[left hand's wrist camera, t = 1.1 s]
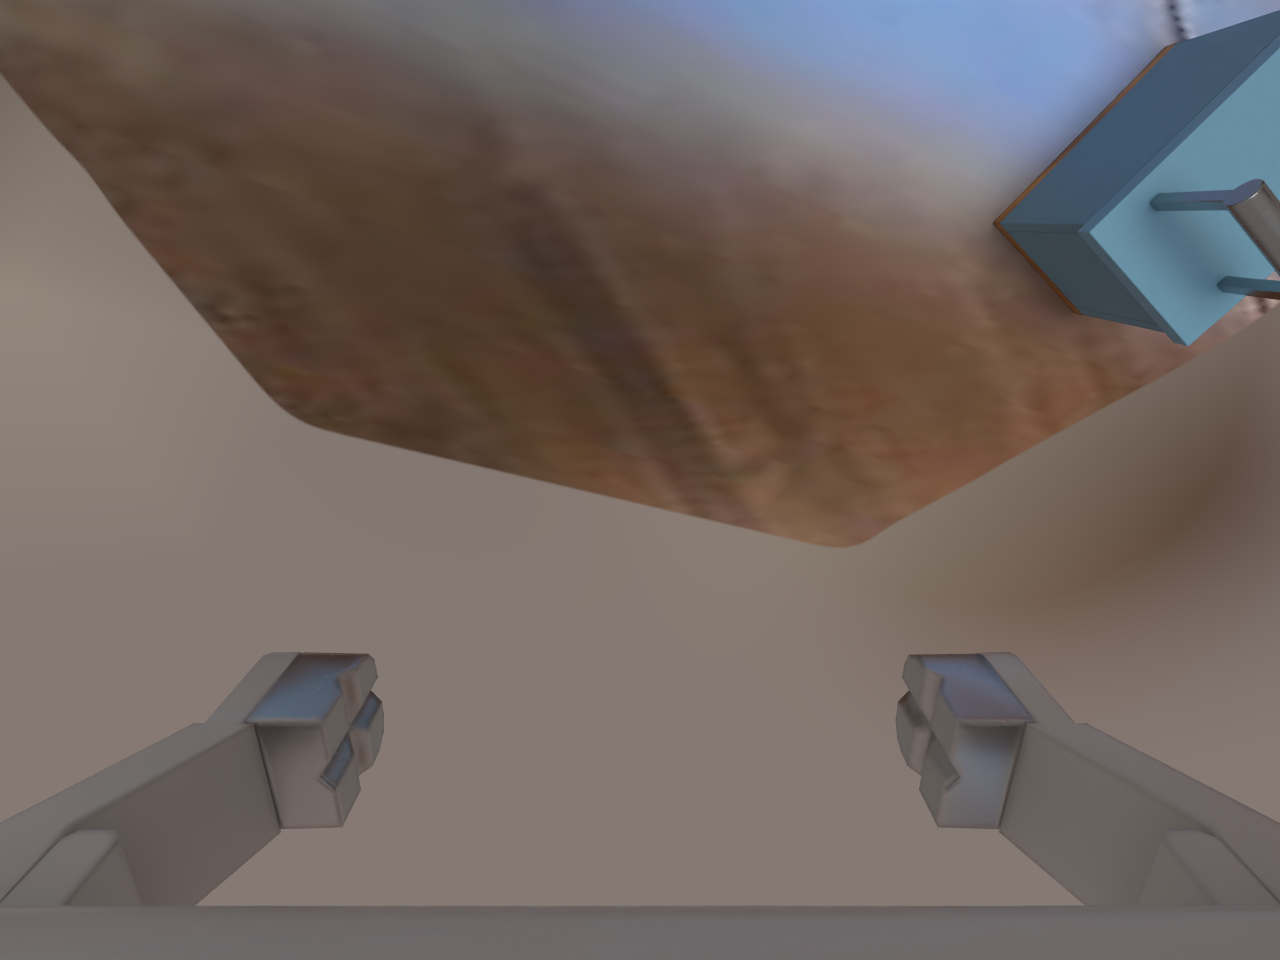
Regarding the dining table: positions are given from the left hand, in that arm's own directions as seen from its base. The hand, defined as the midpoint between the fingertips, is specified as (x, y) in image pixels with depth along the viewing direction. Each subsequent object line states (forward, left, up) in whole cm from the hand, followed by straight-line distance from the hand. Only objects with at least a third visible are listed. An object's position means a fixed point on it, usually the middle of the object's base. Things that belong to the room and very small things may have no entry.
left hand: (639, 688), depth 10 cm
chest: (-4, +35, -45) cm, 57 cm away
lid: (-4, +35, -34) cm, 49 cm away
